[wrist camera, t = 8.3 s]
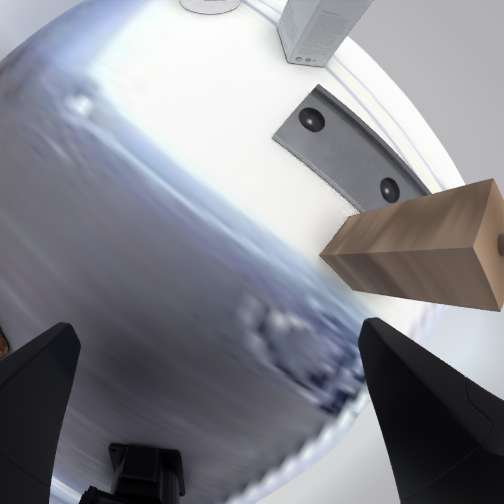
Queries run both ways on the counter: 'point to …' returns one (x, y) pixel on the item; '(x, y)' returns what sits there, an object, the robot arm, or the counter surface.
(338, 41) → the skincare box
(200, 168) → the counter surface
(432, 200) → the post
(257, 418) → the counter surface
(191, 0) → the spray bottle
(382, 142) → the flange strip
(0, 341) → the bread
